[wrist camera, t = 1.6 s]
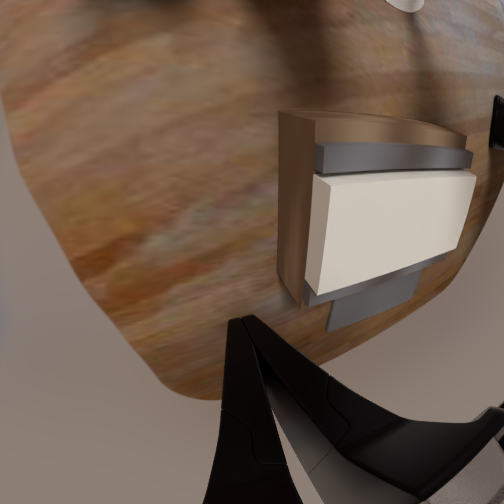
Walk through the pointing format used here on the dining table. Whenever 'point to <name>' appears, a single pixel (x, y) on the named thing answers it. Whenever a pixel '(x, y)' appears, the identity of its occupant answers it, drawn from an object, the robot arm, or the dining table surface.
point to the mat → (371, 301)
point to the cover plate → (382, 222)
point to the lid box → (346, 160)
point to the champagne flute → (407, 5)
